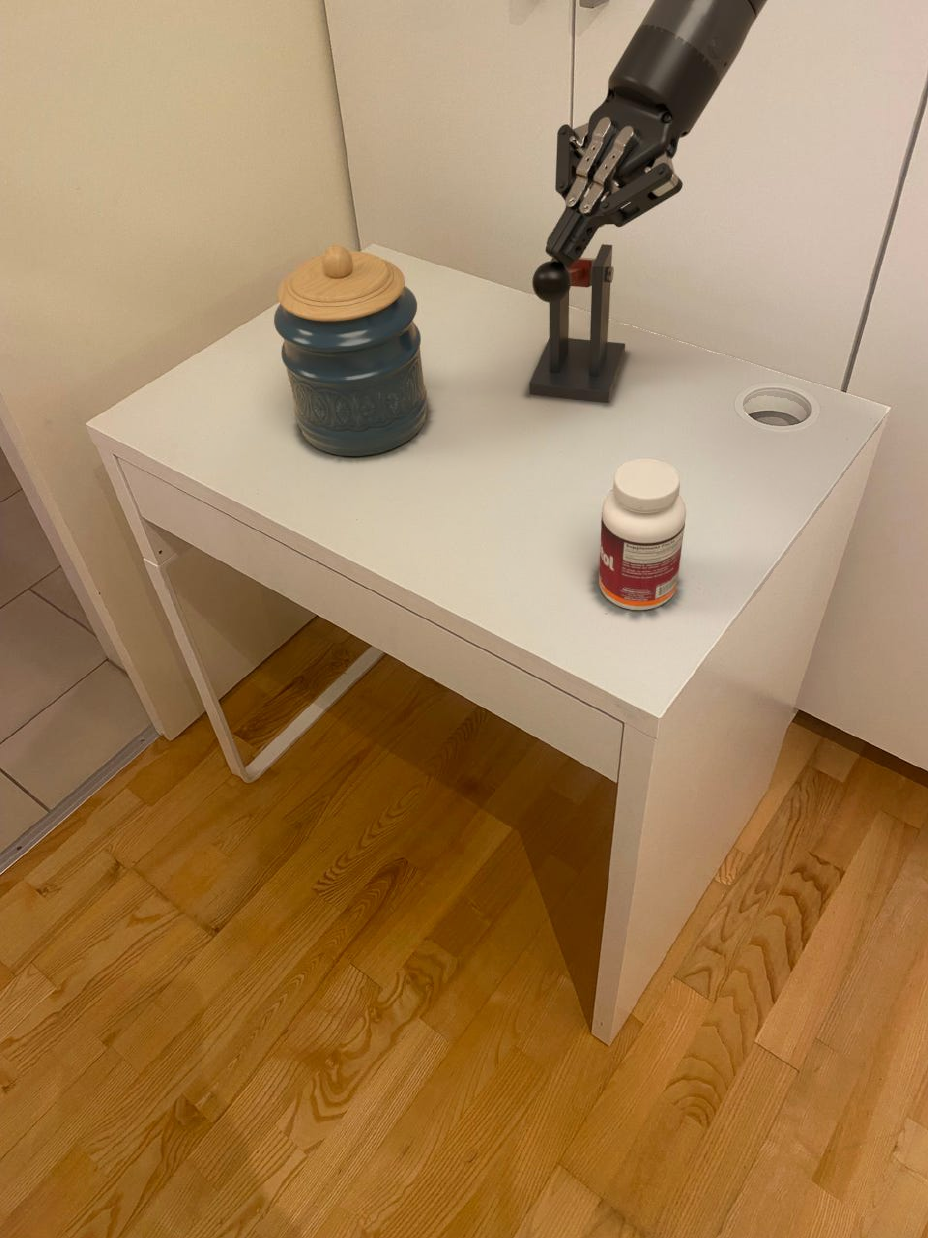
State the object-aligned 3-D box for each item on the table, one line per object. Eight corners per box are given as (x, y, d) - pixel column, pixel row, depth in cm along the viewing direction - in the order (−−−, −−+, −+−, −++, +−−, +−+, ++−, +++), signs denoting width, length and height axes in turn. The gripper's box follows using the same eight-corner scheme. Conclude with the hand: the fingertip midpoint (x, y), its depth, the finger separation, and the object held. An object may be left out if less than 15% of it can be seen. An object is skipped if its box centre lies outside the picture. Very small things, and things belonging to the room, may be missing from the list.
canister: (383, 368, 101) (359, 201, 88) (455, 422, 93) (440, 248, 80) (275, 416, 96) (233, 246, 83) (341, 477, 88) (306, 301, 76)
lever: (565, 305, 77) (569, 263, 76) (526, 302, 78) (529, 260, 77) (598, 290, 91) (601, 254, 90) (565, 287, 92) (568, 251, 91)
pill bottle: (598, 558, 79) (604, 449, 71) (674, 560, 78) (689, 450, 70) (597, 612, 75) (602, 503, 67) (677, 615, 74) (693, 506, 66)
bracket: (608, 403, 94) (615, 280, 85) (529, 394, 96) (527, 273, 87) (624, 354, 100) (632, 234, 90) (550, 346, 102) (550, 228, 92)
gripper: (766, 102, 72) (635, 309, 76) (643, 63, 80) (530, 252, 84) (726, 40, 66) (587, 267, 71) (597, 4, 74) (479, 211, 78)
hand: (556, 259), depth 77 cm, fingers closed
